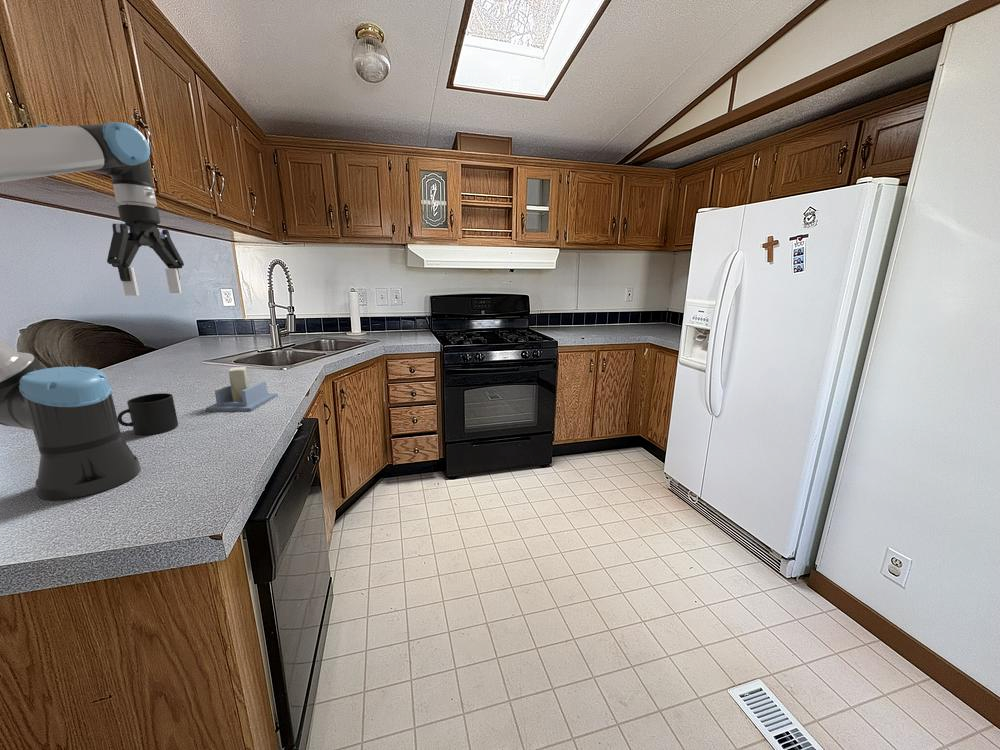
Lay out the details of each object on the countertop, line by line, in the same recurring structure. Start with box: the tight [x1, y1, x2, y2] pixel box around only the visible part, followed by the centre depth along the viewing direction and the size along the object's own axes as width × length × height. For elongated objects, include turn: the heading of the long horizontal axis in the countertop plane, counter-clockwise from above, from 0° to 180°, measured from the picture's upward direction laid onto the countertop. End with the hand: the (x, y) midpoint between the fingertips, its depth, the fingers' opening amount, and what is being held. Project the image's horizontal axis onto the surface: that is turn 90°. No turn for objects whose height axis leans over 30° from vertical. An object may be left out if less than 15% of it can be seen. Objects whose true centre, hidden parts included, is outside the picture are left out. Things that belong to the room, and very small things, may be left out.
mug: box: [117, 392, 179, 436], centre depth 109 cm, size 9×12×9 cm
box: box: [228, 366, 250, 402], centre depth 132 cm, size 5×4×11 cm
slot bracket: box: [205, 380, 279, 412], centre depth 133 cm, size 16×14×6 cm
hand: (155, 294), depth 103 cm, fingers open, 13 cm apart
